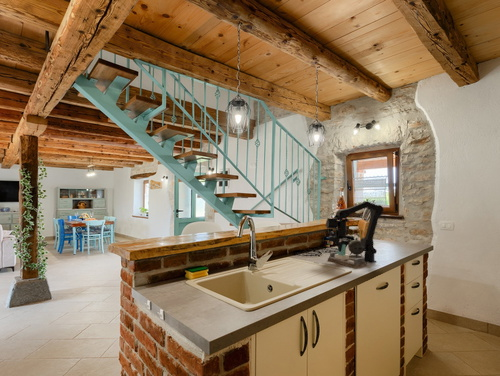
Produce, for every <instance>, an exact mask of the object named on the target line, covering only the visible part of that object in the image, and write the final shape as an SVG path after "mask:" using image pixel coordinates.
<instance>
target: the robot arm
mask: <svg viewBox="0 0 500 376" xmlns="http://www.w3.org/2000/svg"><path fill="white" fill-rule="evenodd" d="M364 209H367V210H369V214H370V218H369V222H368V226H367V230H366V234H365V237H361V239H360V241H361V242H360V244H361V248H362V249H363V252H364V255H363V256H364V257H363V258H364V261H365V263H369V264H370V263H371V264H372V263H377V260H375V254H377V250H378V249H376V248H375V247H374V245H375V243H374V235H375V231H376V229H377V225H378V221H379V218H380V217H381V216H382V214H383V212H384V207H383V205H381V204H376V203H372V202H370V201H368V200H367V201H362V202H360V203H358V204H355V205H353V206H350V207H347V208H342V209H338V210H337V211H336V214H335V215H334V217H333V218H329V217H328V218H327V219H326V222H325V227H326V229H336V230H335V231H333V230H330V231H329V233H328V235H329V237H328V241H329V242H332V243H335V245H336V246H337V250H338V249H339V251H340V252H341V249H342V244H345V245H346V248H348V244H349V242H350V241H352V240H354V239H355V237H354V235H348V234H347V232H348V229H347V223H349V222H350V220H349V219H348V217H351V215H352V214H354V213H357V212H358V211H361V210H364Z"/></svg>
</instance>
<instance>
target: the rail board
mask: <svg viewBox="0 0 500 376" xmlns="http://www.w3.org/2000/svg"><path fill="white" fill-rule="evenodd" d="M335 254H338V251H333V252H332V251H331V252H329V256H328V258H327V261H329V262H332V263H335V264H339V265H342V266H346V267H349V268H353V269H357V268H361V267H367V266H368V265H367V263H368V262H366V261H364V257H358V258H357V257H356V258H353V257H349V259H348V260H341V259H337V258H335Z"/></svg>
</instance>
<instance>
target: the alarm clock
mask: <svg viewBox="0 0 500 376" xmlns="http://www.w3.org/2000/svg"><path fill="white" fill-rule="evenodd" d="M356 235H357V237H356ZM353 237H354V240H349V241H350V242H349V243H348V245H347V249H348V251H349V252H350V253H349V256H351V255H355V256H356V257H358V256H359V255H360V256H362V257H363V255H362V253H363V254H364V251H363V249H362V248H361V244H360V242H361V239H359V238H360V235H359V234H358V233H356V234H354V235H353Z"/></svg>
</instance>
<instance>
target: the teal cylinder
mask: <svg viewBox="0 0 500 376" xmlns="http://www.w3.org/2000/svg"><path fill="white" fill-rule="evenodd" d="M346 248H347V247H346V245H345V244H342V249H341V252H340V251H339V249H338V248H337V252H338V254H335V258H337V259H341V260H348V259H349V258H350V257H349V256H350V254H347V252H346V251H347V250H346Z"/></svg>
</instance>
